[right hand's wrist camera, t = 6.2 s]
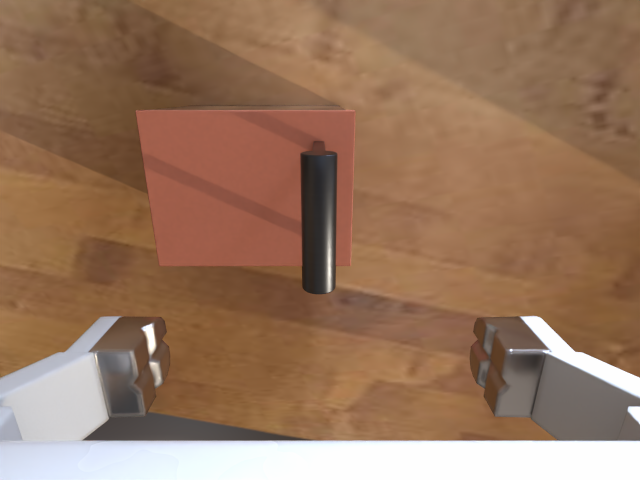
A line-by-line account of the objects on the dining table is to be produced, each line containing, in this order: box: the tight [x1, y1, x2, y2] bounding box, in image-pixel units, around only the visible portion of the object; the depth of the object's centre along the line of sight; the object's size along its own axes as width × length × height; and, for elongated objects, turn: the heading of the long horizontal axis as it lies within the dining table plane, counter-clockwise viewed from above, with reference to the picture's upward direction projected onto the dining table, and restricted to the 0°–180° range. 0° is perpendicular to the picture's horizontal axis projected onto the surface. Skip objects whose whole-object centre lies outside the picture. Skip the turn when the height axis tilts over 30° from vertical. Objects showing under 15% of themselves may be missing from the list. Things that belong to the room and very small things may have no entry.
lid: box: [136, 110, 355, 294], centre depth 22 cm, size 13×10×8 cm
